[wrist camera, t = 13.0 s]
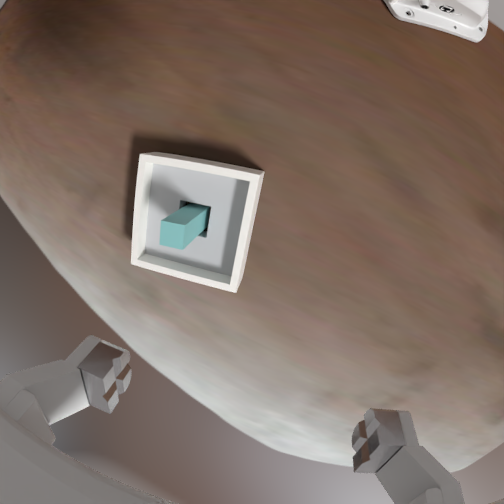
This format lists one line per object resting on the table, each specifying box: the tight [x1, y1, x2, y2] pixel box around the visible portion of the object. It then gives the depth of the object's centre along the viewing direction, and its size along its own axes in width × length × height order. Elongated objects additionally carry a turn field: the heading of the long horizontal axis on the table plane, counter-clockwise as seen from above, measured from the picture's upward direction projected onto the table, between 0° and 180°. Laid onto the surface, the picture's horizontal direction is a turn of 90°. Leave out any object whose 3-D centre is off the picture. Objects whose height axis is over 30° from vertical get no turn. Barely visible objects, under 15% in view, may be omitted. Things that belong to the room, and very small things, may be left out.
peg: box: [159, 203, 210, 250], centre depth 39 cm, size 3×3×10 cm
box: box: [131, 152, 265, 293], centre depth 41 cm, size 16×16×5 cm
